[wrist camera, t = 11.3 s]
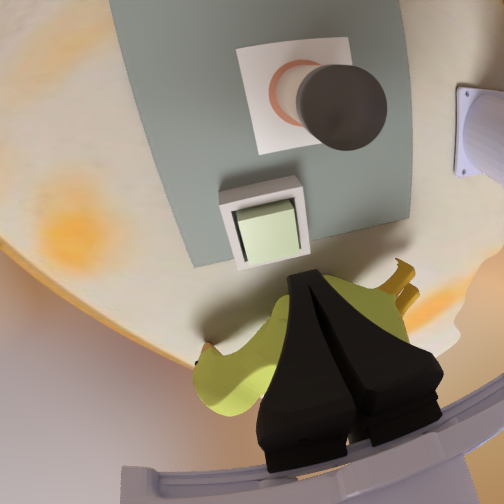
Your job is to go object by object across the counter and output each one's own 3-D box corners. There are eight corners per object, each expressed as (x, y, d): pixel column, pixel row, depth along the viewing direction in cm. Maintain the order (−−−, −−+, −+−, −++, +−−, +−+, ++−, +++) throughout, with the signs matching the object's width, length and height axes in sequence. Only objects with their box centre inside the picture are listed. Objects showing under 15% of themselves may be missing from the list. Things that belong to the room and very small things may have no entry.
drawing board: (377, -61, 10) (395, -70, 8) (406, 215, 23) (421, 230, 21) (105, -29, 10) (91, -39, 8) (194, 264, 23) (193, 285, 21)
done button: (284, 191, 20) (293, 208, 18) (291, 233, 22) (299, 253, 20) (235, 203, 20) (237, 221, 18) (245, 244, 22) (249, 265, 20)
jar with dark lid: (329, 61, 15) (383, 64, 10) (336, 117, 17) (388, 145, 12) (268, 67, 15) (298, 68, 10) (278, 125, 17) (310, 157, 12)
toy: (324, 212, 29) (168, 345, 27) (470, 287, 15) (231, 499, 14) (344, 254, 33) (207, 372, 31) (466, 332, 19) (276, 501, 17)
